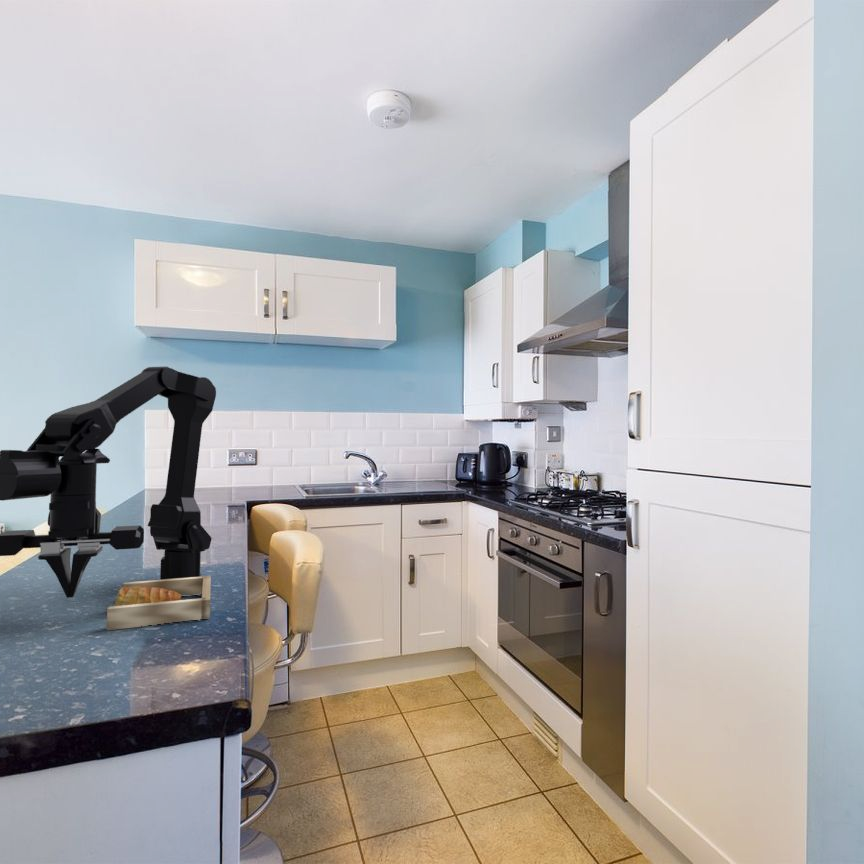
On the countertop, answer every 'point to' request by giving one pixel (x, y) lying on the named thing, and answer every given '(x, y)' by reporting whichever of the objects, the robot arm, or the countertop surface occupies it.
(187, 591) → the beige piece
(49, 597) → the countertop surface
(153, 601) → the pastry
